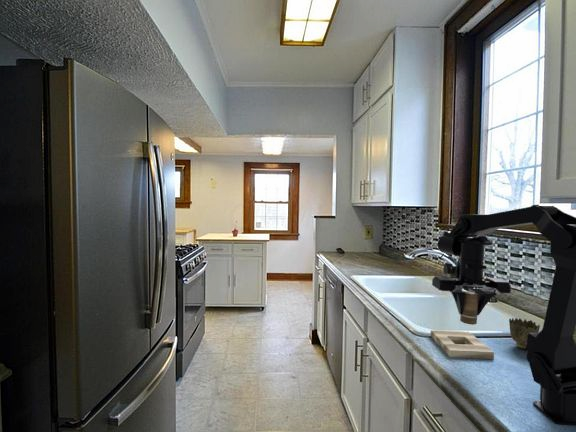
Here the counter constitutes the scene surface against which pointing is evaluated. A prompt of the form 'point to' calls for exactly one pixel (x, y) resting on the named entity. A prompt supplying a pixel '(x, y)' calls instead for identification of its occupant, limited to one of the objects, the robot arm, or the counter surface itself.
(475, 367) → the counter surface
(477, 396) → the counter surface
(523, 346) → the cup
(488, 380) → the counter surface
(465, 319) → the peg
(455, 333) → the board
